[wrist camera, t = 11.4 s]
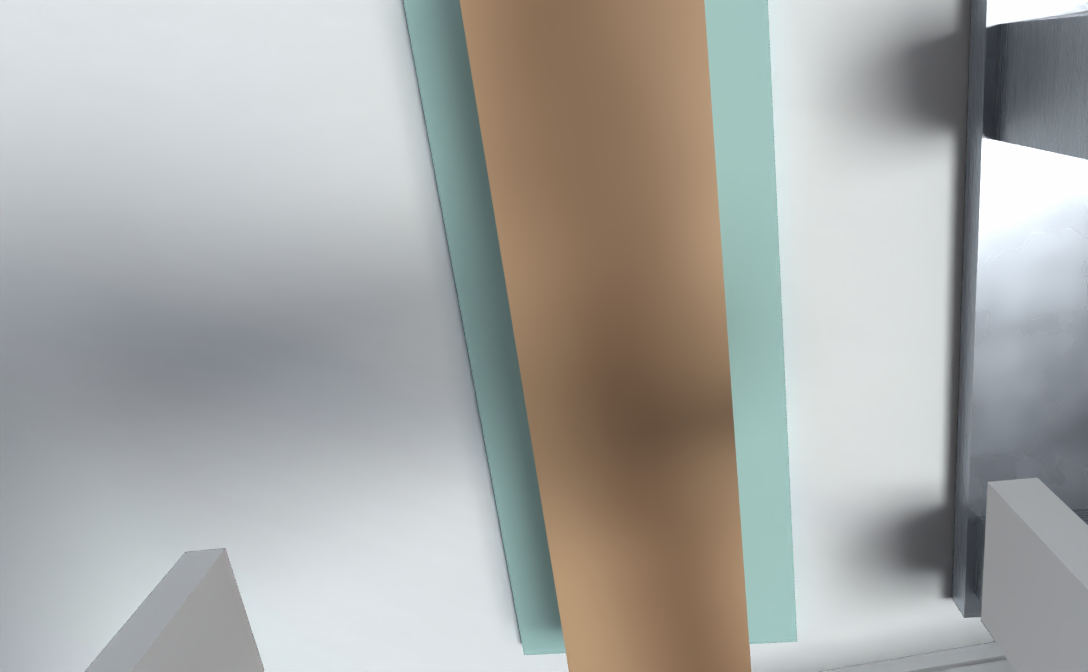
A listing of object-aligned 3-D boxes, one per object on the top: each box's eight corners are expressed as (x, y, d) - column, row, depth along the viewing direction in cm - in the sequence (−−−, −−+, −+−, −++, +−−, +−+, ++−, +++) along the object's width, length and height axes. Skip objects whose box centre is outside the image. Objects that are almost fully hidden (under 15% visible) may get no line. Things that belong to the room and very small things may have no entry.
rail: (591, 629, 29) (584, 769, 23) (495, -17, 22) (452, -44, 16) (729, 622, 28) (757, 764, 22) (677, -47, 21) (697, -85, 15)
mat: (526, 644, 30) (524, 655, 29) (401, -38, 22) (395, -40, 22) (793, 630, 29) (797, 641, 28) (759, -99, 21) (762, -104, 20)
